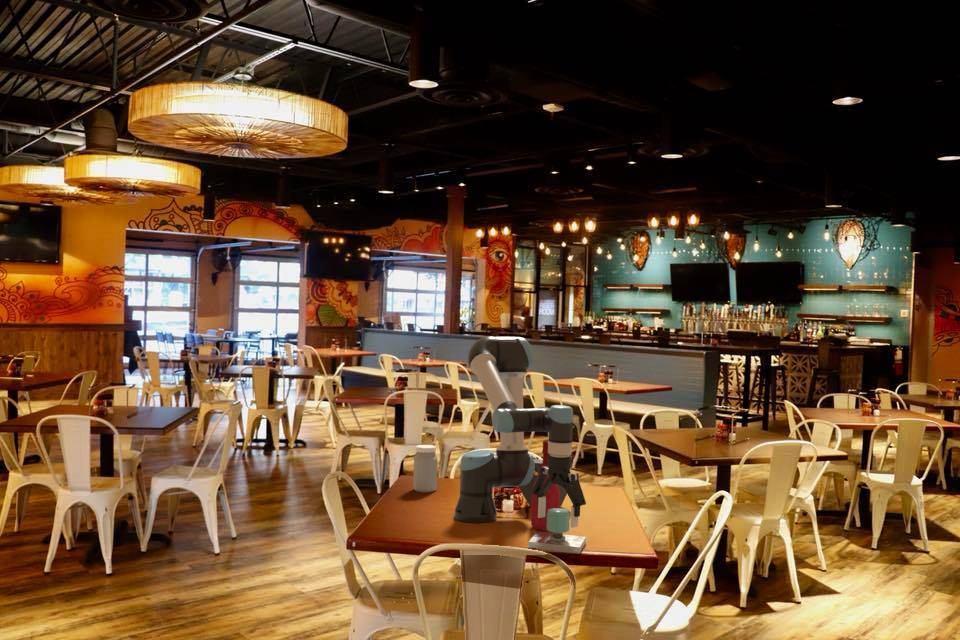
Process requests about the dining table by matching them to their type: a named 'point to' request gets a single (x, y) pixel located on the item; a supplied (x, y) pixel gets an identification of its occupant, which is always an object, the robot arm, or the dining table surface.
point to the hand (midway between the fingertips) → (557, 521)
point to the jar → (425, 469)
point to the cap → (558, 520)
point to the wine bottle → (550, 495)
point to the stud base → (557, 542)
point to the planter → (528, 488)
